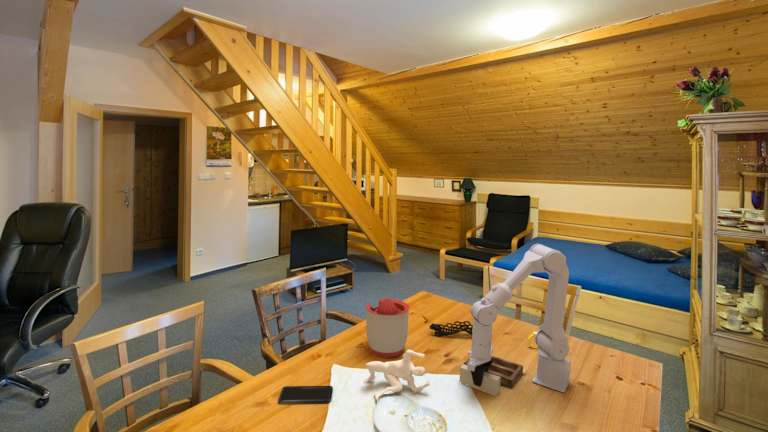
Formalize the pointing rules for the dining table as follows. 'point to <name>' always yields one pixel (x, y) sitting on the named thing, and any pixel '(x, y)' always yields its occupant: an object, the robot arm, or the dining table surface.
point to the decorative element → (443, 333)
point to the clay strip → (488, 383)
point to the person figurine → (397, 373)
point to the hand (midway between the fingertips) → (479, 382)
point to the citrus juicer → (387, 327)
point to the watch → (530, 338)
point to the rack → (504, 371)
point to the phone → (306, 395)
